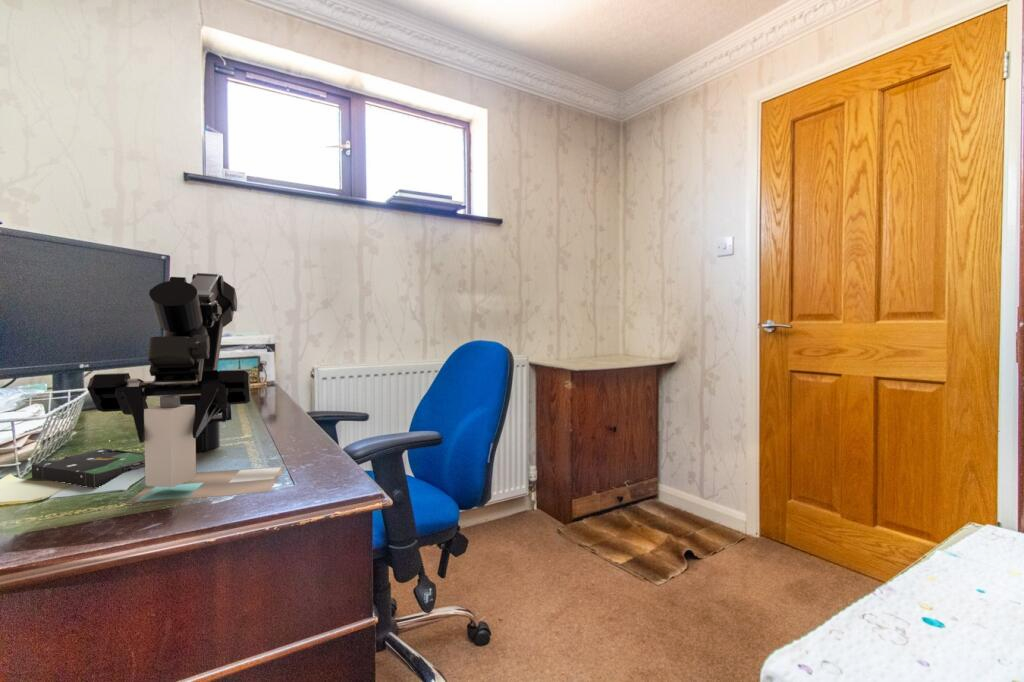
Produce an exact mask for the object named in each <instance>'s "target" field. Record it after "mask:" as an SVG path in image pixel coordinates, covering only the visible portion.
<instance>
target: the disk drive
mask: <svg viewBox="0 0 1024 682" xmlns="http://www.w3.org/2000/svg"><path fill="white" fill-rule="evenodd" d="M141 468H145V452H134V451H127V450H119V449H112V448H99V449H96V450H92V451H88V452H82V453H77V454H72V455H69V456H64V457H63V458H62V459H60V460H59V459H58V460H46V461H41V462H37V463H33V464H32V463H31V478H32V479H37V480H44V481H49V482H55V481H57V482H56V483H60V482H65V483H64V484H67V483H71V484H70V485H73V484H76V485H75V486H79V485H81V486H80V487H83V486H87V487H86V488H90V487H93V488H92V489H96V488H95V487H98V488H100V487H99V486H101V487H103V486H104V485H106V484H108V483H109V482H111V481H112V480H114V479H116V478H118V477H119V476H120V475H123V474H124V473H126V472H129V471H134V470H137V469H141ZM102 485H103V486H102Z"/></svg>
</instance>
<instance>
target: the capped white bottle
mask: <svg viewBox="0 0 1024 682" xmlns="http://www.w3.org/2000/svg"><path fill="white" fill-rule="evenodd" d="M194 420H195V405H182V404H180V395H167V396H161V397H159V405H158V406H153V407H148V408H147V409H144V430H145V441H144V454H145V466H144V469H145V470H144V471H145V472H144V474H145V478H144V479H145V486H146V487H148V486H157V487H170V488H172V487H174V486H177V485H179V484H182V483H184V482H187V481H189V480H192V479H194V478H196V473H197V453H196V438H193V424H194Z"/></svg>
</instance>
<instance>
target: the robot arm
mask: <svg viewBox="0 0 1024 682" xmlns="http://www.w3.org/2000/svg"><path fill="white" fill-rule="evenodd" d="M187 281H188V280H187V278H186V277H185V276H184V277H179V276H170V277H169V280H167V281H164V282H160V283H159V284H156V285H155V286H153V287H152V288H150V290H149V294H148V295H149V298H150V302H151V305H152V309H153V313H154V316H155V320H156V323H157V325H158V326H157V327H159V329H160V330H162V331H163V330H164V331H163V336H152V337H150V338H149V344H148V351H147V353H148V354H147V361H148V362H150V367H149V370H148V371H149V373H150V374H149V375H150V377H154V378H153V380H142V379H140V378H131V376H130V375H131V374H130V373H129V372H117V373H116V372H114V373H113V372H111V373H96V374H94V375H92V377H91V378H89V381H88V385H87V388H86V389H87V391H88V393H89V396H90V397H91V399H92V402H93V404H94V407H95V408H96V409H97V411H99V412H103V413H110V412H122V414H123V415H129V416H132V417H133V422H134V426H135V430H136V433H137V437H138V440H139V443H140V444H141V443H142V444H143V443H145V430H144V409H147V408H149V406H148V403H147V398H148V397H157V398H160V397H161V396H167V395H180V404H182V405H195V420H194V424H193V438H196V454H203V453H208V452H209V451H211V450H216V449H219V448H220V447H221V440H220V439H221V434H220V433H221V431H220V430H221V427H220V426H221V424H220V422H221V423H226V422H227V421H231V420H233V418H232V417H233V411H232V410H233V409H232V405H242V404H243V405H246V404H248V403H250V402H251V380H250V372H249V371H248V370H247V369H243V368H241V369H219V367H218V366H219V362H220V360H219V359H220V353H221V346H222V345H221V343H222V338H223V332H224V331H223V330H224V328H225V327H226V326H227V325H228V324H230V323H232V322H233V319H234V313H235V312H237V311H238V297H237V292H236V288H235V287H233V286H232V285H230V284H229V283H228V282H226V281H224V277H223V275H220V274H219V273H209V272H208V273H203V272H197V273H193V274H192V278H191V281H190V282H187ZM218 369H219V370H218Z"/></svg>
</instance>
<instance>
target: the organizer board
mask: <svg viewBox="0 0 1024 682" xmlns="http://www.w3.org/2000/svg"><path fill="white" fill-rule="evenodd" d="M285 467H286V465H282V466H269V467H255V468H253V467H252V468H240V469H239V468H238V469H227V470H213V471H212V470H211V471H199V472H198V471H196V478H194V479H192V480H189V481H187V482H184V483H182V484H179V485H177V486H174V487H172V488H170V487H157V486H146V488H144V489H143V490H142V491H140V492H139V493H137V494H136V495H135V496H133V497H132V498H130V499H129V500H128V501H126V502H124V505H132V504H143V503H144V504H145V503H157V502H166V501H170V502H171V501H177V500H179V501H181V500H190V499H191V500H193V499H201V498H211V497H212V498H215V497H225V496H237V495H249V494H260V493H261V494H263V493H270V491H271V490H272V488H273V487H274V486H275V483H276V482H277V480H278V478H279V477H280V476H281V474H282V472H283V471H284V469H285Z"/></svg>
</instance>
